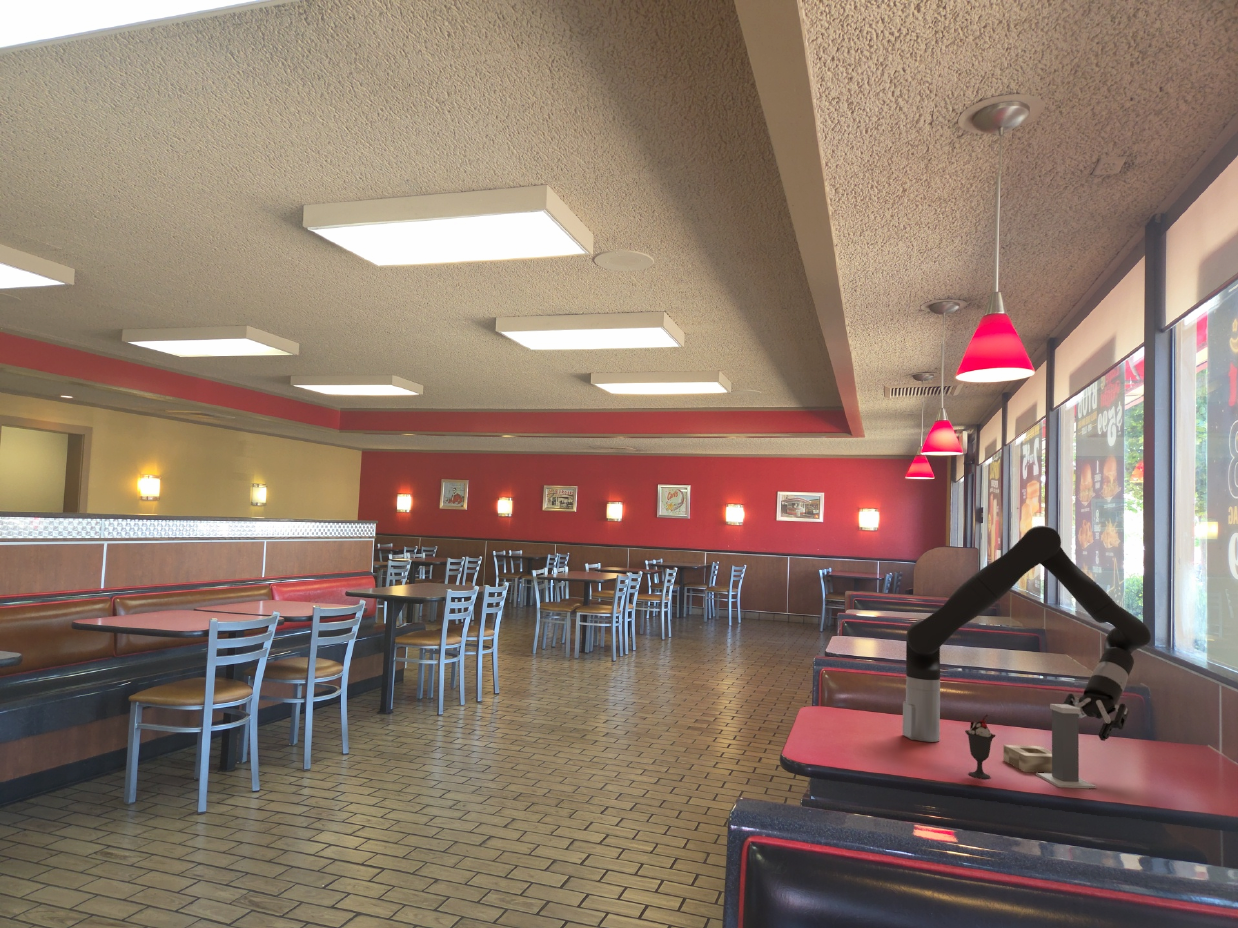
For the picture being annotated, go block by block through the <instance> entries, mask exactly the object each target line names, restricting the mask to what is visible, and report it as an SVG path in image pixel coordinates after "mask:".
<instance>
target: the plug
mask: <svg viewBox="0 0 1238 928" xmlns="http://www.w3.org/2000/svg"><path fill="white" fill-rule="evenodd" d="M1049 709H1050V710H1051V751H1052V776H1053V777H1055V778H1057V779H1059V780H1061V781H1063V782H1079V778H1080V776H1079V774H1080V773H1079V770H1080V768H1079V767H1080V766H1079V764H1080V763H1079V760H1080V759H1079V757H1080V755H1079V753H1080V752H1079V718H1078V714H1080V712H1081V709H1080V708H1077V707H1074V706H1071V705H1068V704H1063V703H1062V704H1061V703H1050V704H1049Z"/></svg>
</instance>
